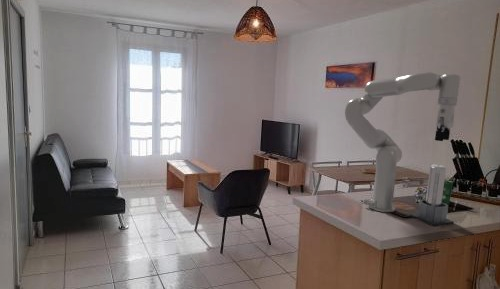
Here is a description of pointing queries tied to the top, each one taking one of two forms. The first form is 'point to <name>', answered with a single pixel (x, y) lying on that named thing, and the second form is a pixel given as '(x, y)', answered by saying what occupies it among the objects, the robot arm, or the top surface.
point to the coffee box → (447, 192)
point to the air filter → (435, 185)
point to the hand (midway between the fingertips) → (441, 140)
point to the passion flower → (420, 193)
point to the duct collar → (432, 214)
